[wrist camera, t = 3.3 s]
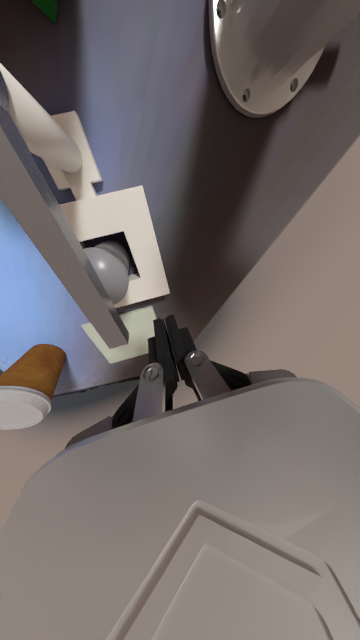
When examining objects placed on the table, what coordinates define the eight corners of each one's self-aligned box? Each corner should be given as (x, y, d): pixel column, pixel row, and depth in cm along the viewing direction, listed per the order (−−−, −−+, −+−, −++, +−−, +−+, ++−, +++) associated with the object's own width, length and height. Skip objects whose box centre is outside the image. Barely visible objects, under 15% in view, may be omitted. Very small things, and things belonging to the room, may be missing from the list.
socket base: (121, 107, 15) (84, -67, 6) (167, 286, 28) (180, 324, 18) (-16, 135, 15) (-308, -9, 5) (94, 306, 27) (66, 356, 18)
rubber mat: (151, 305, 29) (152, 307, 29) (166, 346, 37) (166, 347, 36) (82, 324, 29) (80, 326, 28) (110, 361, 36) (110, 363, 35)
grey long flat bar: (-124, 7, 6) (-205, -55, 4) (-39, -6, 6) (-93, -71, 5) (107, 339, 17) (104, 350, 16) (134, 332, 17) (133, 342, 16)
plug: (124, 232, 22) (112, 243, 13) (138, 270, 25) (136, 299, 17) (85, 241, 21) (47, 259, 13) (105, 279, 25) (85, 312, 16)
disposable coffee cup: (5, 344, 28) (-66, 411, 18) (58, 333, 29) (15, 392, 19) (40, 373, 34) (-1, 436, 24) (83, 363, 35) (60, 420, 25)
